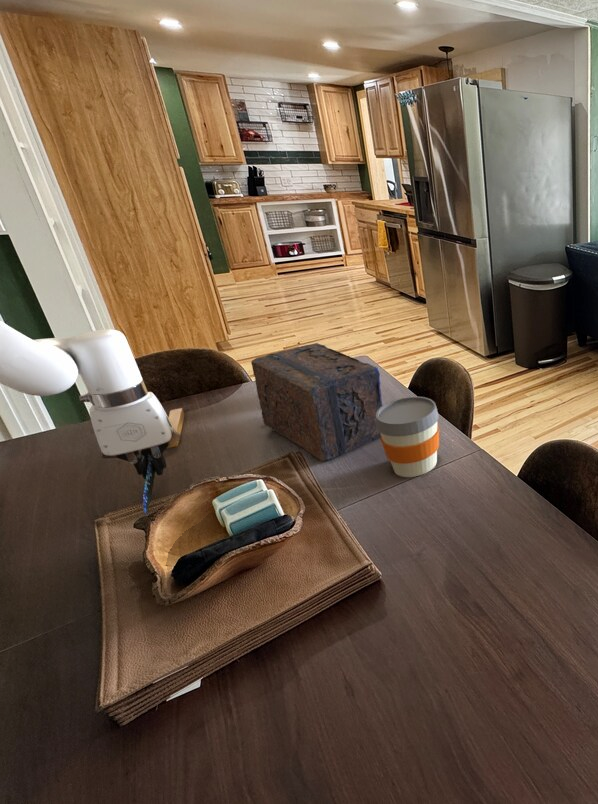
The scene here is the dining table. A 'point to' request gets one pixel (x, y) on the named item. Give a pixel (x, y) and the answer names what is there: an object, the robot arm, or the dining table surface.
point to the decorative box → (319, 398)
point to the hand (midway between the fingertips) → (154, 473)
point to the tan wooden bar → (176, 422)
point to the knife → (148, 478)
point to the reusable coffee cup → (409, 434)
